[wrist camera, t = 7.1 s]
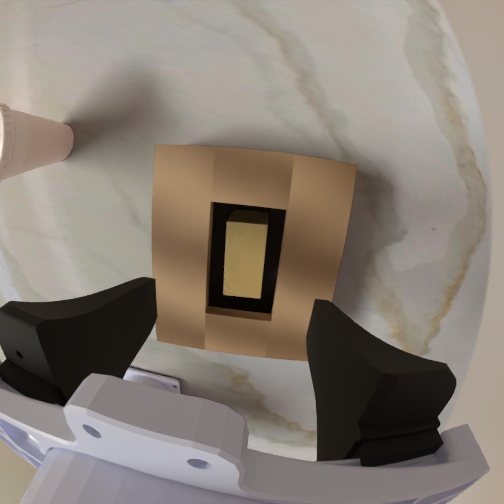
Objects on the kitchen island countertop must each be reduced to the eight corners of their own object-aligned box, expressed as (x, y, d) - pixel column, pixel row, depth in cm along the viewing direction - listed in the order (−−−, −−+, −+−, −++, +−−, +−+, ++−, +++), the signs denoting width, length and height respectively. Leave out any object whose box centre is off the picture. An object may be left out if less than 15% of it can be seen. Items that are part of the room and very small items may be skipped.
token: (262, 273, 23) (260, 298, 18) (231, 270, 23) (223, 294, 18) (267, 212, 21) (267, 225, 17) (235, 209, 21) (226, 221, 17)
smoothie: (85, 103, 19) (-38, 87, 5) (84, 170, 21) (-45, 196, 7) (42, 119, 19) (-67, 120, 6) (41, 178, 21) (-68, 206, 8)
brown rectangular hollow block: (307, 325, 24) (314, 361, 19) (176, 309, 24) (157, 340, 19) (337, 164, 19) (357, 165, 15) (180, 148, 20) (155, 144, 15)
